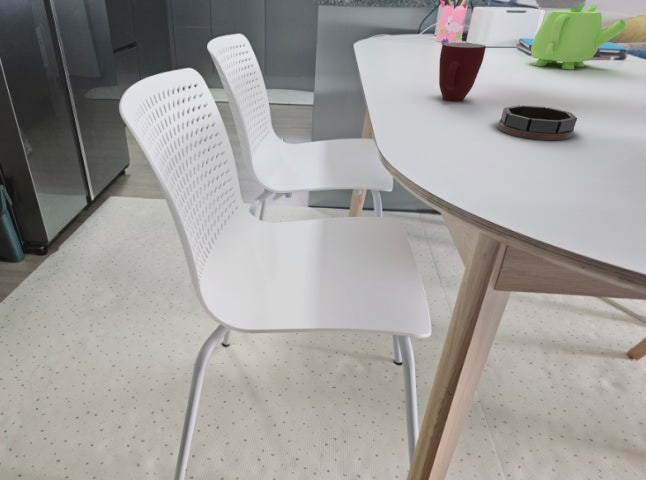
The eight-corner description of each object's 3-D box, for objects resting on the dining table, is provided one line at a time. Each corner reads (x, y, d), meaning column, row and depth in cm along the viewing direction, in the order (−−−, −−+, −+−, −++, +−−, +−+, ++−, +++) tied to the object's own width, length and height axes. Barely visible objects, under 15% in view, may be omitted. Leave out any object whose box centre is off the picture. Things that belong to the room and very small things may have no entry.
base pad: (563, 124, 79) (568, 107, 78) (580, 143, 70) (586, 124, 69) (494, 119, 81) (498, 103, 80) (501, 137, 73) (506, 118, 71)
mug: (470, 107, 89) (483, 50, 84) (427, 103, 92) (437, 47, 87) (475, 97, 97) (487, 44, 92) (435, 93, 100) (445, 41, 95)
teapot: (597, 75, 121) (622, 5, 112) (515, 65, 134) (531, 1, 126) (626, 66, 135) (651, 3, 127) (549, 57, 148) (567, 0, 140)
